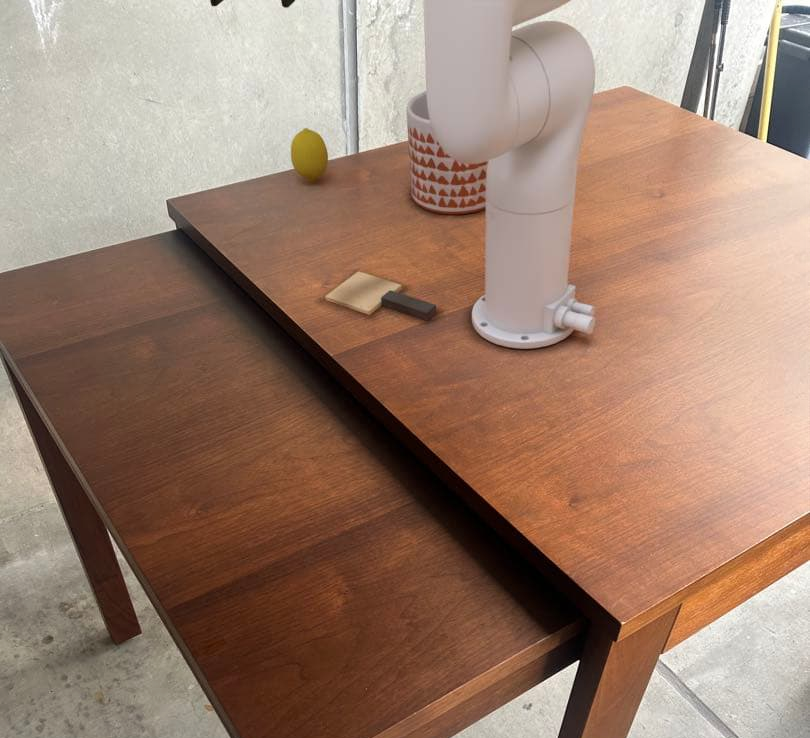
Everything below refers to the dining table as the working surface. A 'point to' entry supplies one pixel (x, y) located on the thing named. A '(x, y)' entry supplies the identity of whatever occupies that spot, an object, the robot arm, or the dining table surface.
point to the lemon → (309, 155)
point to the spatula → (378, 297)
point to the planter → (440, 169)
